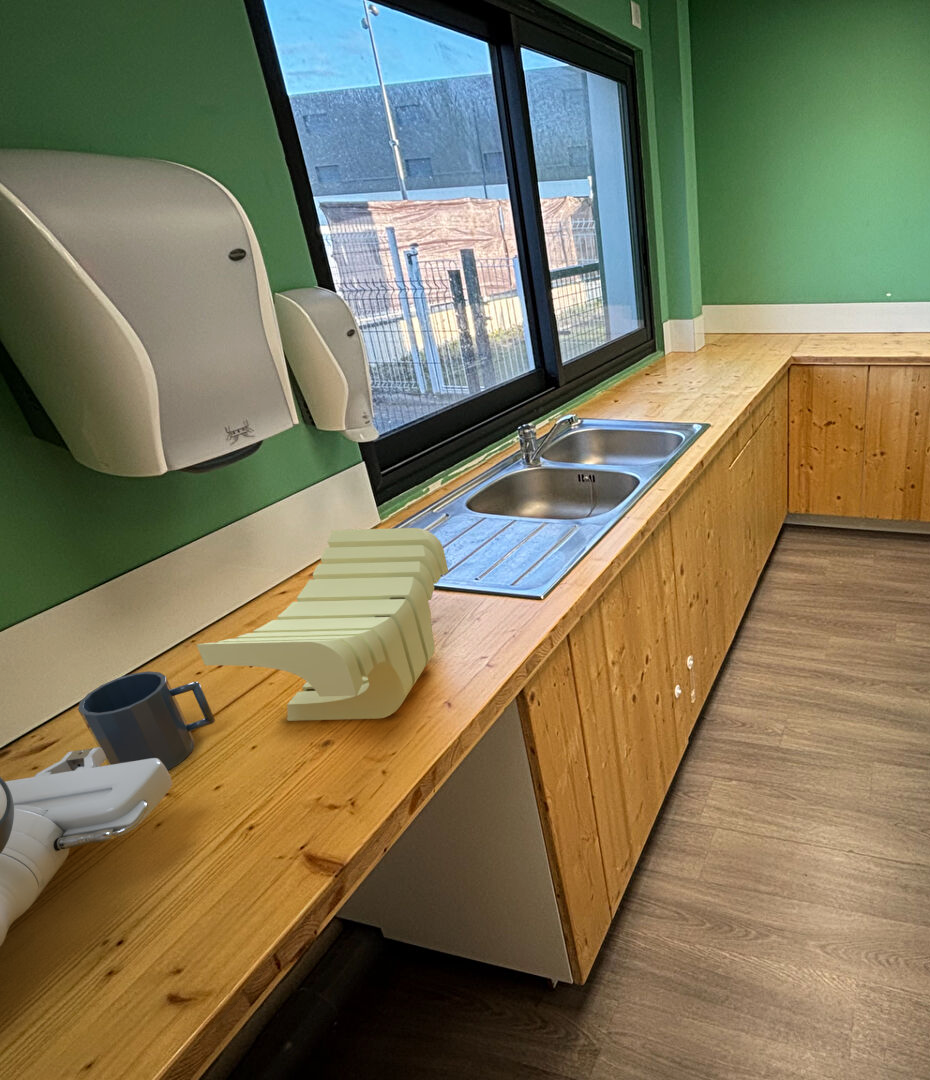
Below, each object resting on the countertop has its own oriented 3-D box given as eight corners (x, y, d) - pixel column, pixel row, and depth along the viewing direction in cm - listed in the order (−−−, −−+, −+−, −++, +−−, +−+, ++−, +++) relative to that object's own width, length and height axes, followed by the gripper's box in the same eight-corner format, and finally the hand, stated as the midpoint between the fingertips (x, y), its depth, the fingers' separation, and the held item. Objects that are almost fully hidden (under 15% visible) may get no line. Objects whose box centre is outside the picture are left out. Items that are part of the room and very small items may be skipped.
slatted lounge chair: (378, 764, 84) (339, 640, 77) (248, 767, 85) (196, 644, 77) (461, 628, 112) (438, 527, 104) (362, 631, 112) (332, 530, 104)
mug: (111, 792, 82) (74, 724, 77) (116, 752, 88) (82, 688, 83) (222, 752, 87) (194, 687, 83) (220, 717, 93) (193, 655, 89)
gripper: (115, 810, 64) (185, 714, 76) (-154, 856, 60) (-35, 747, 72) (142, 859, 67) (205, 759, 79) (-114, 905, 63) (-6, 792, 75)
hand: (88, 753), depth 76 cm, fingers closed
